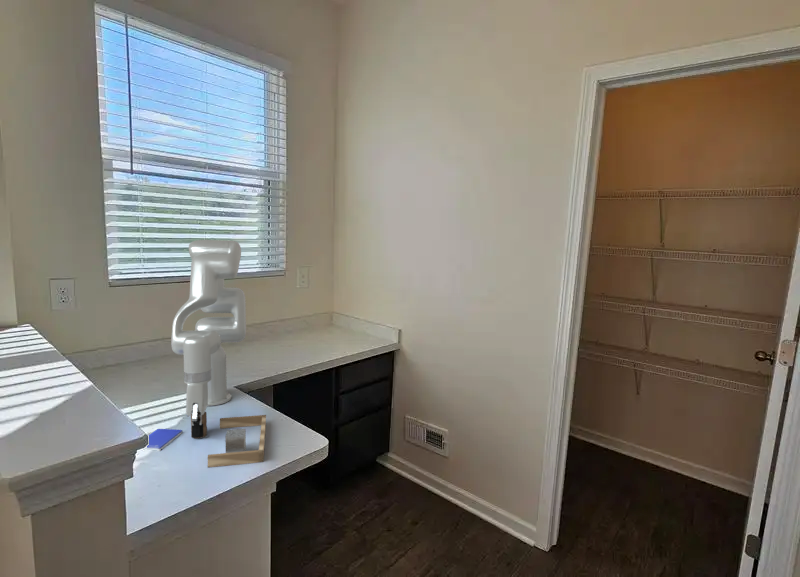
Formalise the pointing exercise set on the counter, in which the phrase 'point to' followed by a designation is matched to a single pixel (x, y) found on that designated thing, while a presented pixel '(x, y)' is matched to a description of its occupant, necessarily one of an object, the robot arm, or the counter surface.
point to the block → (235, 440)
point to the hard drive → (162, 438)
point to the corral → (244, 456)
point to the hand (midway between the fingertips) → (199, 432)
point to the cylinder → (204, 422)
